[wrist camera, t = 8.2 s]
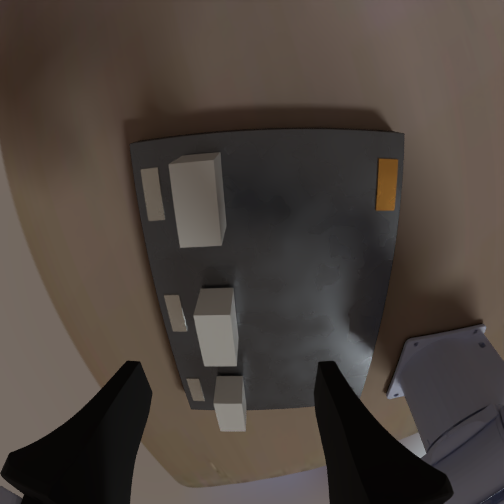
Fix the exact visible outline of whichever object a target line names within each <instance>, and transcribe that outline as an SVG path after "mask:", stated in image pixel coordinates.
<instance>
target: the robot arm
mask: <svg viewBox="0 0 504 504" xmlns="http://www.w3.org/2000/svg"><path fill="white" fill-rule="evenodd" d="M485 330H486V326H485V325H484V324H480V325H476V326H471V327H467V328H462V329H457V330H453V331H448V332H443V333H437V334H432V335H427V336H421V337H415V338H410V339H408V340H407V341H406V342H405V344H404V347H403V350H402V353H401V356H400V359H399V362H398V365H397V368H396V370H395V373H394V376H393V378H392V381H391V384H390V386H389V389H388V391H387V394H386V396H387V398H388V399H392V398H397V397H401V396H405V398H406V401H407V403H408V406H409V408H410V411H411V413H412V416H413V418H414V421H415V424H416V426H417V429H418V431H419V434H420V437H421V440H422V442H423V445H424V448H425V450H426V453H427V454H426V455H424V456H423V457H422V458H419V457H417V456H416V455H415V454H413V453H412V452H411V451H409V450H408V449H407V448H406V447H405V446H403V445H402V444H401V443H399V442H398V441H397V440H396V439H395V438H394V437H393V436H392V435H391V434H390V433H389V432H388V431H387V430H386V429H385V428H384V427H383V426H382V425H381V424H380V423H379V422H378V421H377V420H376V419H375V418H374V416H373V415H372V414H371V413H370V412H369V411H368V409H367V408H366V407H365V406H364V404H363V403H362V402H361V400H360V399H359V398H358V396H357V395H356V394H355V392H354V391H353V389H352V388H351V386H350V385H349V383H348V382H347V380H346V379H345V377H344V376H343V374H342V372H341V371H340V369H339V367H338V366H337V364H336V362H335V361H334V360H332V361H320V362H318V367H317V374H316V381H315V387H314V403H315V412H316V418H317V423H318V427H319V432H320V436H321V441H322V445H323V450H324V454H325V459H326V465H327V474H328V485H329V499H330V504H504V489H503V488H504V361H503V360H502V358H501V357H500V355H499V354H498V353H497V351H496V350H495V349H494V347H493V346H492V344H491V343H490V342H489V340H488V339H487V338H486V337H485V335H484V332H485ZM151 399H152V390H151V388H150V385H149V383H148V380H147V378H146V375H145V373H144V370H143V368H142V365H141V363H140V362H138V361H126V362H125V364H124V365H123V366H122V367H121V368H120V369H119V370H118V371H117V372H116V373H115V375H114V376H113V377H112V378H111V379H110V380H109V381H108V382H107V383H106V385H105V386H104V387H103V388H102V389H101V390H100V391H99V392H98V393H97V394H96V395H95V396H94V397H93V398H92V399H91V400H90V401H89V402H88V403H87V404H86V405H85V406H84V407H83V408H82V409H81V410H80V411H79V412H78V413H76V414H75V415H74V416H73V417H72V418H70V419H69V420H68V421H67V422H65V423H64V424H63V425H62V426H60V427H58V428H57V429H55V430H54V431H52V432H51V433H50V434H48V435H46V436H45V437H43V438H41V439H39V440H38V441H36V442H34V443H32V444H30V445H28V446H26V447H24V448H21V449H18V450H16V451H14V452H11V453H9V455H8V458H7V460H6V462H5V464H4V466H3V468H2V471H1V473H0V474H1V476H2V477H3V478H4V479H5V480H6V481H7V482H8V483H10V484H11V485H12V486H14V487H15V488H16V489H18V490H19V491H20V492H22V493H23V494H24V496H23V499H22V498H21V497H19V496H18V495H16V494H14V493H12V492H11V491H9V490H7V489H5V488H4V487H2V486H0V504H130V495H131V484H132V477H133V470H134V464H135V459H136V455H137V451H138V448H139V444H140V441H141V438H142V435H143V431H144V428H145V425H146V422H147V418H148V415H149V410H150V405H151ZM500 490H501V491H500ZM497 492H498V493H497ZM494 494H495V495H494ZM491 496H492V497H491ZM488 498H489V499H488ZM486 499H487V500H486ZM483 501H484V502H483Z"/></svg>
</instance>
